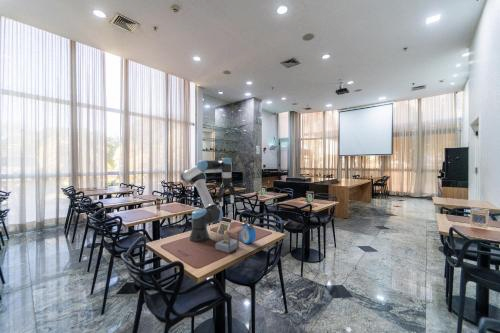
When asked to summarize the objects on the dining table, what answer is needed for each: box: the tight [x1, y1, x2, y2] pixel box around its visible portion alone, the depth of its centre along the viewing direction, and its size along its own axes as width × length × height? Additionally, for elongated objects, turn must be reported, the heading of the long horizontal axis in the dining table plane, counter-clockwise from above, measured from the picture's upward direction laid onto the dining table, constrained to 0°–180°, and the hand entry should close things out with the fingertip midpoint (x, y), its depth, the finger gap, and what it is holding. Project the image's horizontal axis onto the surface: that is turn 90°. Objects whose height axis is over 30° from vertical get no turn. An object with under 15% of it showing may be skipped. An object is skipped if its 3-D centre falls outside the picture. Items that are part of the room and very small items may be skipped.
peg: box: [223, 230, 228, 244], centre depth 155 cm, size 3×3×12 cm
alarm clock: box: [239, 221, 257, 245], centre depth 164 cm, size 13×6×15 cm, turn 41°
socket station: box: [214, 226, 243, 254], centre depth 153 cm, size 16×12×15 cm
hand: (226, 204), depth 168 cm, fingers open, 13 cm apart
